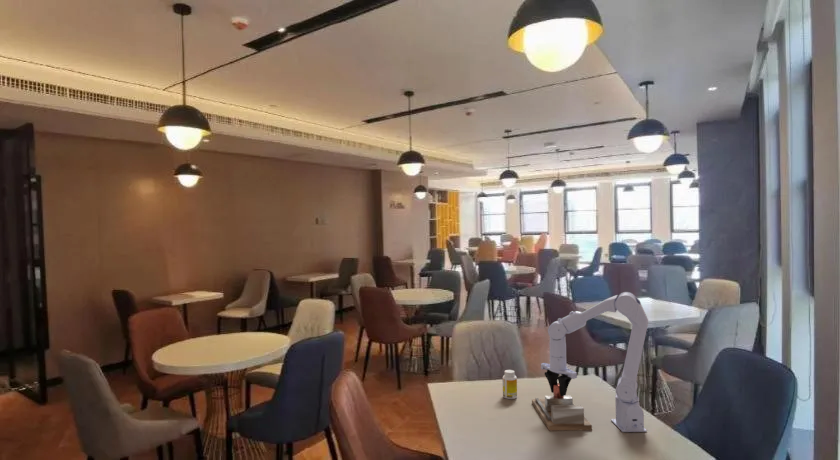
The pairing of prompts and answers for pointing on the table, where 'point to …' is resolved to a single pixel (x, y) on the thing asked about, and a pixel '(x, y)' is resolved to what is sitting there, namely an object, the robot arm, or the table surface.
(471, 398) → the table surface
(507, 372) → the supplement bottle
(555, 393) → the sliding jaw
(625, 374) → the robot arm
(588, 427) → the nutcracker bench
